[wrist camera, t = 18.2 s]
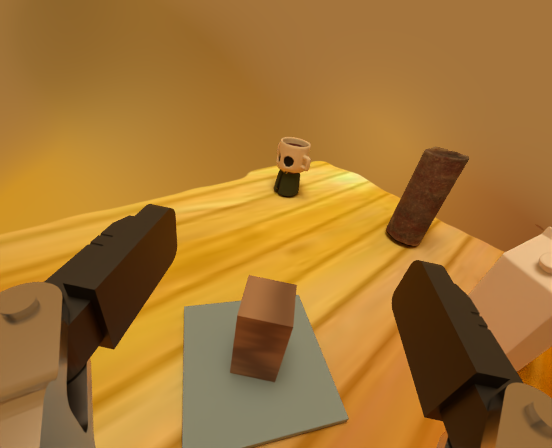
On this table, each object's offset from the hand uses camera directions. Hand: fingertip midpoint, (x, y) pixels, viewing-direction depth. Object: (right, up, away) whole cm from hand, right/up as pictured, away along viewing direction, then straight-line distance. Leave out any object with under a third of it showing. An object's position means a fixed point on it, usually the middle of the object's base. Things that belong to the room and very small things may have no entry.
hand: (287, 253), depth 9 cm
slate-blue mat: (-3, -15, +22) cm, 27 cm away
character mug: (+2, +9, +59) cm, 60 cm away
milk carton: (+28, -17, +29) cm, 43 cm away
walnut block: (-3, -14, +22) cm, 26 cm away
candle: (+27, -2, +50) cm, 57 cm away
